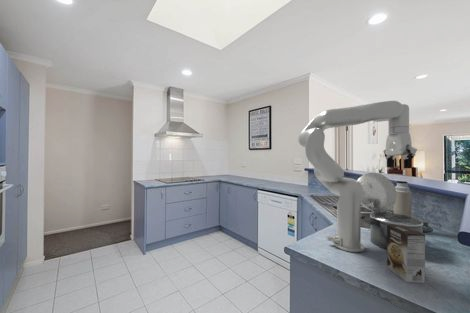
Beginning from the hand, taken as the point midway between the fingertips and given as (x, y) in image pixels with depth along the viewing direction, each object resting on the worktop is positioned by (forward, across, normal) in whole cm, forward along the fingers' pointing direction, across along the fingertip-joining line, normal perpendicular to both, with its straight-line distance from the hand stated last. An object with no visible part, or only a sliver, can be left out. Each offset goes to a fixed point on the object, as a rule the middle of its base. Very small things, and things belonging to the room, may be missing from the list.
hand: (398, 167), depth 93 cm
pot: (+37, -1, -1) cm, 37 cm away
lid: (+14, -14, 0) cm, 20 cm away
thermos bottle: (+37, -23, +21) cm, 49 cm away
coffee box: (+37, +23, -17) cm, 47 cm away
